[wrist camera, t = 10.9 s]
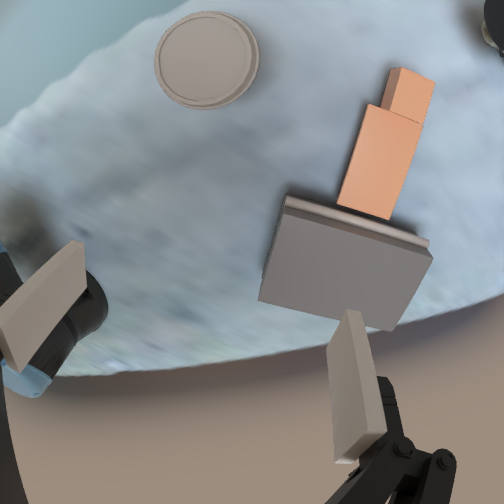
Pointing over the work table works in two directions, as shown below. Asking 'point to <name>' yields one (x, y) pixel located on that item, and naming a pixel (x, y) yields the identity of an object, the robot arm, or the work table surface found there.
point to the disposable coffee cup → (206, 60)
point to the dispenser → (342, 264)
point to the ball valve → (494, 24)
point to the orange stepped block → (386, 145)
